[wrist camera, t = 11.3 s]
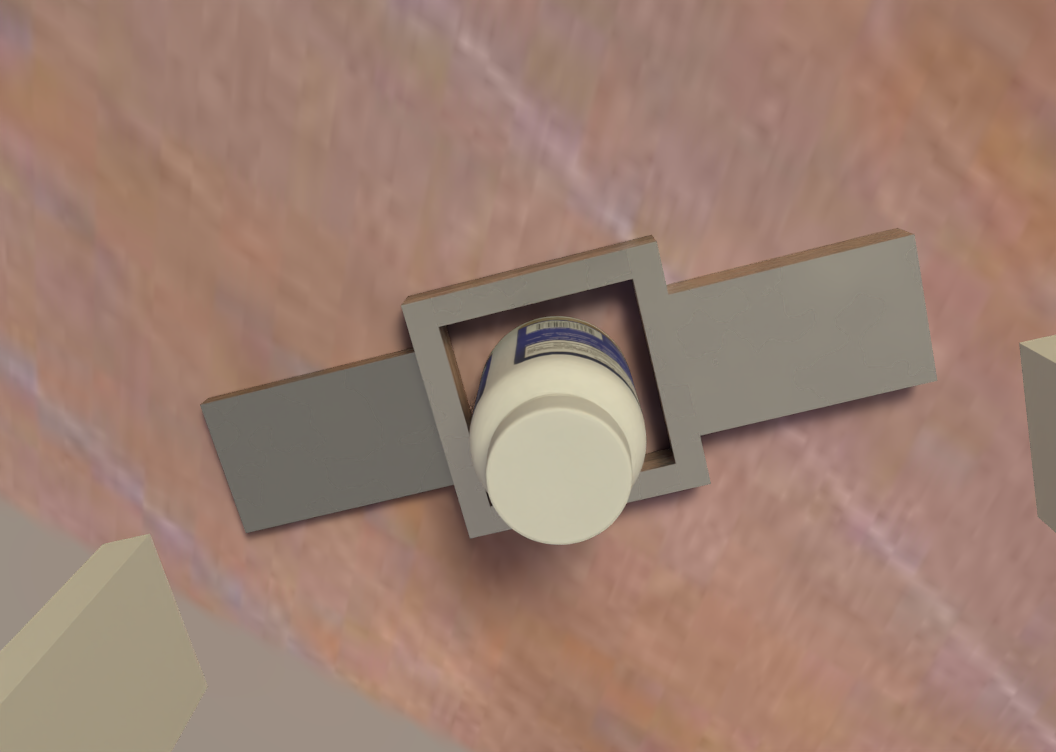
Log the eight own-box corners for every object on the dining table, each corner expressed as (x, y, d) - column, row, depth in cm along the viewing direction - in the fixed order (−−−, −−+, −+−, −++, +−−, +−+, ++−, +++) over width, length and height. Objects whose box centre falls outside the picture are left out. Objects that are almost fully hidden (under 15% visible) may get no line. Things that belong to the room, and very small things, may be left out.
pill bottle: (559, 484, 36) (560, 605, 28) (452, 389, 35) (418, 484, 27) (663, 382, 35) (697, 475, 26) (554, 281, 34) (553, 344, 26)
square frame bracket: (267, 567, 37) (255, 587, 36) (190, 351, 35) (174, 362, 34) (928, 416, 35) (945, 430, 34) (889, 175, 33) (905, 178, 31)
